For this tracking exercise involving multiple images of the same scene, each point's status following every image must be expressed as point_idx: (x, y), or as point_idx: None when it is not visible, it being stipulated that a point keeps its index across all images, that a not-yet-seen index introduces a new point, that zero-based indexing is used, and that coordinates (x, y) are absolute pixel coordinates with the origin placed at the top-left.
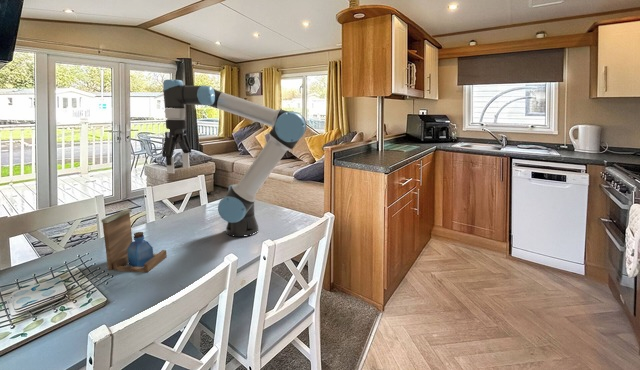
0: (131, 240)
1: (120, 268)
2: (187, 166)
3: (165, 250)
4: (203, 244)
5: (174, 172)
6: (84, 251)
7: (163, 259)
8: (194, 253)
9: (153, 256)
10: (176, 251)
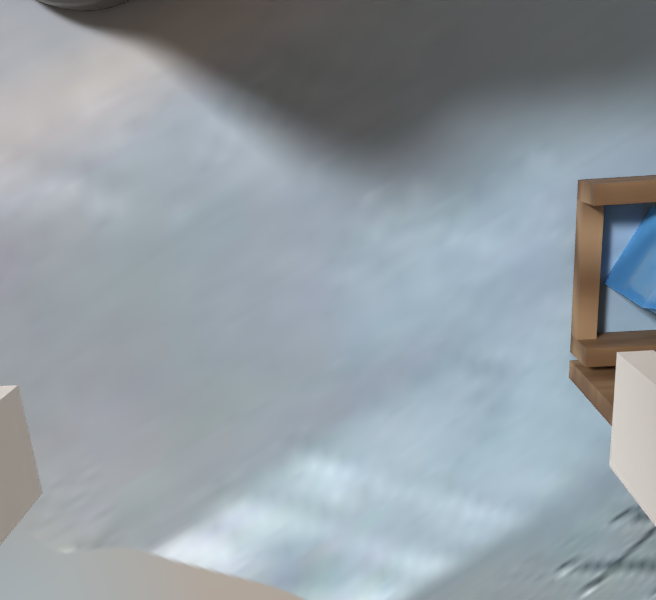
0: (612, 396)
1: None
2: (10, 424)
3: (601, 184)
4: (364, 61)
5: (625, 356)
6: (545, 595)
7: (613, 178)
8: (508, 46)
9: (599, 244)
10: (493, 170)
